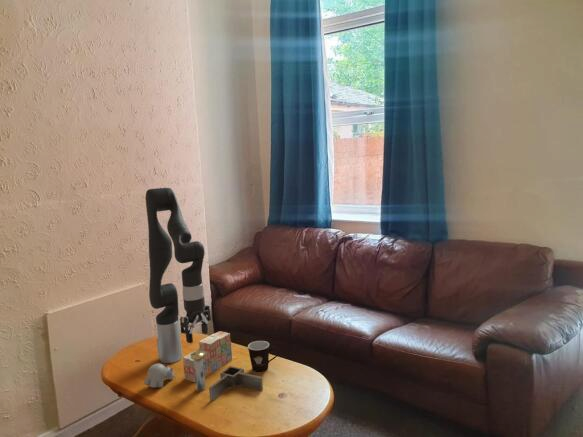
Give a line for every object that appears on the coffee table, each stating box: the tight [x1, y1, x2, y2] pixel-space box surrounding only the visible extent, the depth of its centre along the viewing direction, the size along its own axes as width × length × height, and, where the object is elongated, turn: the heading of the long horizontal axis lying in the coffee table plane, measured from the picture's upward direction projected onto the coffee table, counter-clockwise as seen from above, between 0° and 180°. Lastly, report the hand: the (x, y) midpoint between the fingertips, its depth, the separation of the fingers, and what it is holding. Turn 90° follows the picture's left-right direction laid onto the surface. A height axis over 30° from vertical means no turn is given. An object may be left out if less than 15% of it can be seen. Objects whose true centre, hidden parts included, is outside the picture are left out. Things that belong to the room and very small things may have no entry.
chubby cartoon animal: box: [143, 363, 176, 388], centre depth 175 cm, size 7×12×8 cm, turn 139°
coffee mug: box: [247, 340, 280, 373], centre depth 182 cm, size 12×9×10 cm
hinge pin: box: [190, 350, 206, 392], centre depth 169 cm, size 5×5×14 cm
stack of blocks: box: [182, 330, 233, 383], centre depth 184 cm, size 21×6×12 cm, turn 146°
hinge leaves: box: [208, 365, 264, 402], centre depth 166 cm, size 16×16×5 cm
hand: (197, 338), depth 167 cm, fingers open, 8 cm apart
